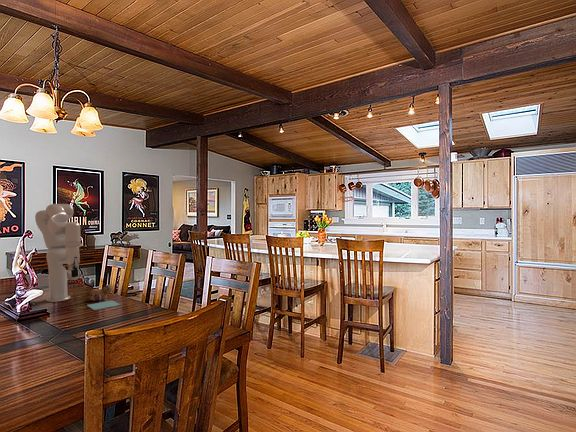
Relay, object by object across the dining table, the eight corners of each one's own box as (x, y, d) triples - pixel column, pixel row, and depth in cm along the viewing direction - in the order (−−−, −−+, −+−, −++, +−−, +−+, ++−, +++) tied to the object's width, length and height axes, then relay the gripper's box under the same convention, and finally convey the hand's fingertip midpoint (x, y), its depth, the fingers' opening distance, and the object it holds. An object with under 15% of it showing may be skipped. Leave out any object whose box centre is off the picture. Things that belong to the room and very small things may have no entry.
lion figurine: (113, 297, 220) (113, 283, 220) (111, 299, 215) (111, 285, 215) (87, 299, 216) (87, 285, 216) (85, 301, 211) (84, 287, 211)
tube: (67, 279, 199) (67, 261, 198) (77, 278, 202) (76, 260, 202) (69, 280, 195) (69, 262, 195) (79, 279, 199) (79, 261, 198)
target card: (86, 305, 203) (86, 305, 203) (112, 300, 212) (112, 300, 212) (94, 310, 193) (94, 309, 193) (120, 305, 203) (120, 304, 203)
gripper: (61, 243, 201) (62, 275, 202) (69, 246, 190) (70, 279, 190) (76, 242, 207) (76, 273, 207) (84, 245, 195) (85, 277, 195)
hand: (73, 275), depth 199 cm, fingers closed on tube, 5 cm apart
